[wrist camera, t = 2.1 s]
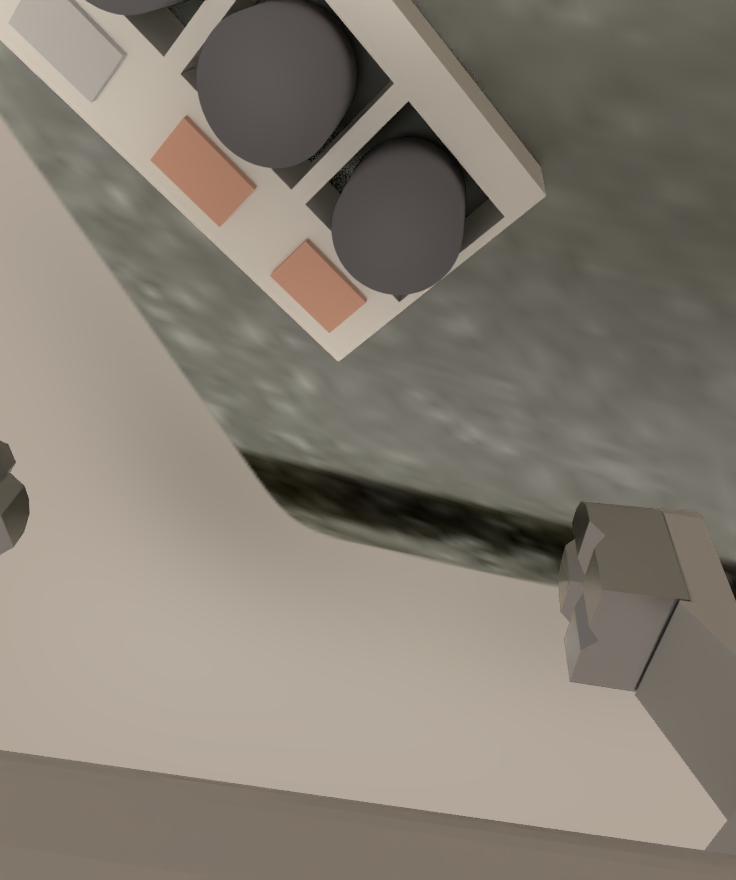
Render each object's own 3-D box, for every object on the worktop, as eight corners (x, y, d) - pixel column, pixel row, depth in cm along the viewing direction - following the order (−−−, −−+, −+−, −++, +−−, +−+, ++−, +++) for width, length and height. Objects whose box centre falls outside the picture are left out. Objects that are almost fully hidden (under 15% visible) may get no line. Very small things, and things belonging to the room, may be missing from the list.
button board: (540, 166, 23) (547, 199, 20) (351, 323, 27) (336, 366, 25) (186, -289, 17) (133, -325, 15) (24, 0, 22) (-38, 11, 19)
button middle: (383, 76, 20) (368, 97, 18) (297, 166, 22) (274, 196, 20) (288, -38, 19) (258, -32, 16) (206, 68, 21) (168, 88, 18)
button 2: (490, 205, 22) (490, 240, 19) (402, 278, 24) (393, 318, 21) (411, 109, 20) (400, 134, 18) (324, 194, 22) (304, 227, 20)
